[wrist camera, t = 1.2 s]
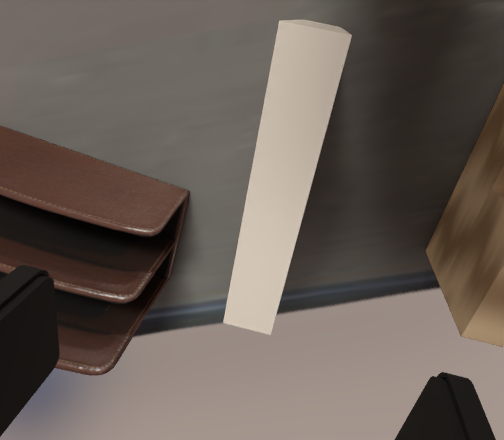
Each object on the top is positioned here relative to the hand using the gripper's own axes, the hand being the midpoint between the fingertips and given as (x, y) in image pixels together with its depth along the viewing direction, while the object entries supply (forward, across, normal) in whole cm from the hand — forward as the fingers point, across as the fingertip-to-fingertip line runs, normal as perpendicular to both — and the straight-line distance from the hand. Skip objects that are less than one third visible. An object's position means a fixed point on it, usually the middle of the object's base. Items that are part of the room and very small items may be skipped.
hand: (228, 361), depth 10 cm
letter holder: (+24, +18, +11) cm, 32 cm away
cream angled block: (+23, 0, -1) cm, 23 cm away
